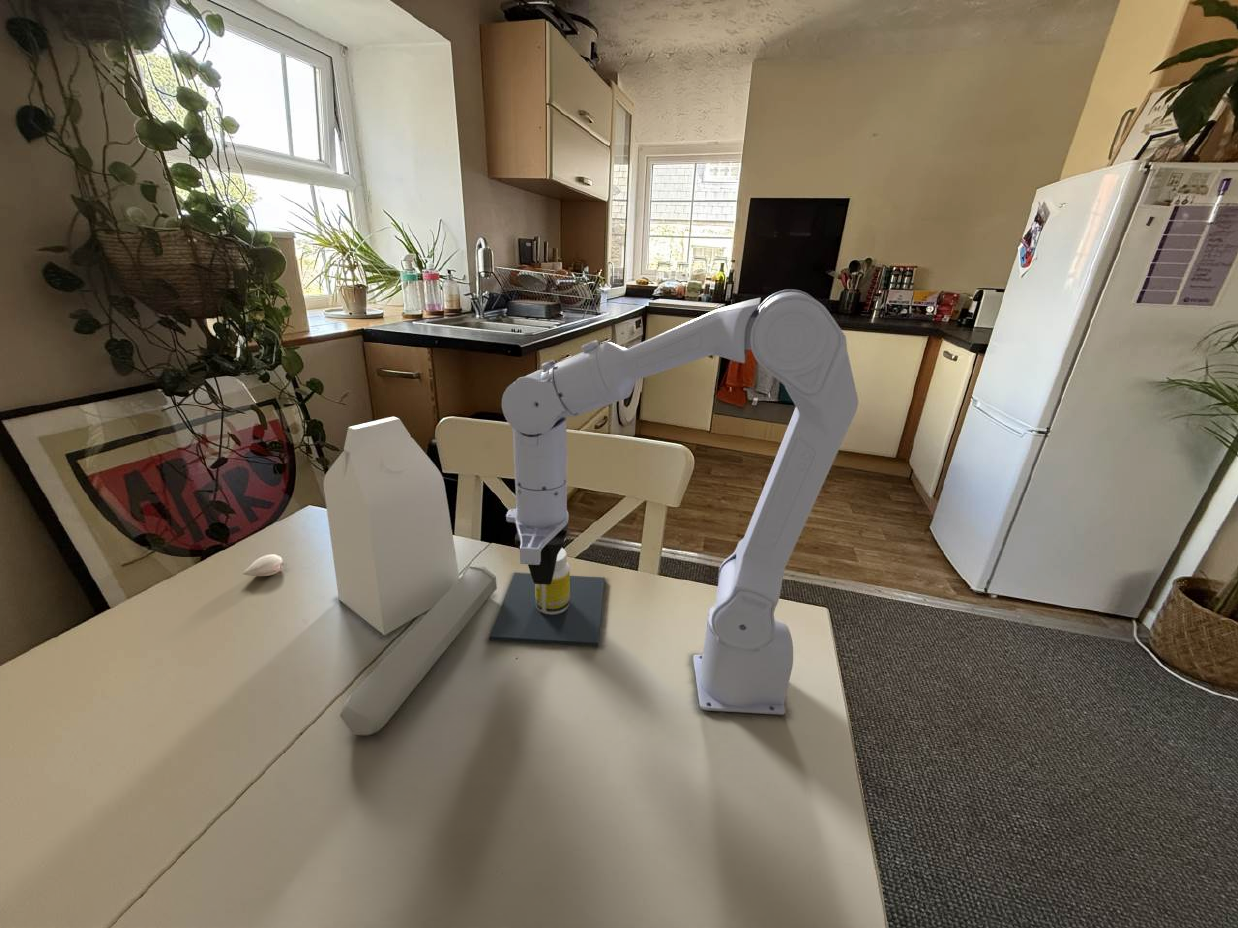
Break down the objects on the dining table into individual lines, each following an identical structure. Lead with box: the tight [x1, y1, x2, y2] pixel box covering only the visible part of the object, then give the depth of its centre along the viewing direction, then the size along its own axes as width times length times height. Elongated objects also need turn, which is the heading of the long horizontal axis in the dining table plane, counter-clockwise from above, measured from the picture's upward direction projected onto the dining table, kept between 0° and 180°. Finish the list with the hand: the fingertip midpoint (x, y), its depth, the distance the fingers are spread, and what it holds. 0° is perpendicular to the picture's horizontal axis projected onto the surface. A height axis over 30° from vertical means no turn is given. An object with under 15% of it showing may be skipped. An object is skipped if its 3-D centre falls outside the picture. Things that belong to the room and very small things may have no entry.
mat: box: [489, 572, 606, 647], centre depth 70 cm, size 14×14×1 cm
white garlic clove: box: [243, 553, 284, 577], centre depth 74 cm, size 4×5×2 cm
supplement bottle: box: [535, 547, 571, 615], centre depth 68 cm, size 5×5×8 cm
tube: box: [339, 563, 498, 736], centre depth 60 cm, size 5×5×25 cm
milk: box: [323, 415, 461, 636], centre depth 66 cm, size 12×12×26 cm
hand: (543, 580), depth 60 cm, fingers closed
